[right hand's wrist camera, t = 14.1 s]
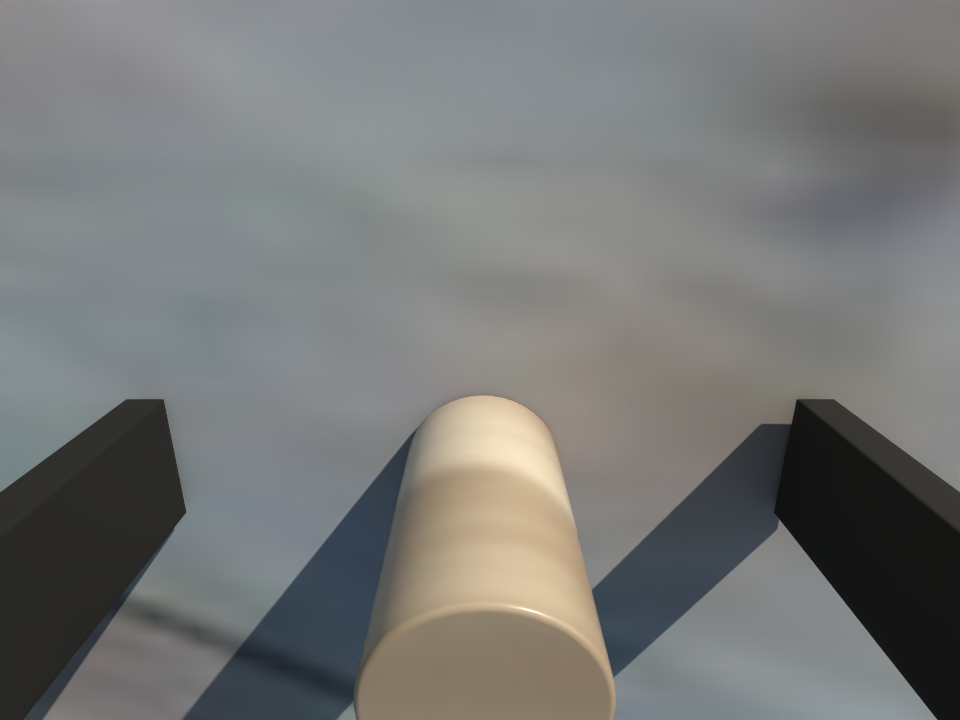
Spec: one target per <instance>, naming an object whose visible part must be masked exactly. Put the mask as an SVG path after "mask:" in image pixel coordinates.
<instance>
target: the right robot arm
mask: <svg viewBox="0 0 960 720" xmlns="http://www.w3.org/2000/svg"><path fill="white" fill-rule="evenodd" d="M185 513H186V509H185V504H184V499H183V494H182V489H181V484H180V479H179V474H178V469H177V464H176V459H175V454H174V449H173V444H172V439H171V434H170V430H169V425H168V420H167V415H166V410H165V405H164V400H163V399H126V400H125V401H124V402H122V403H121V404H120V405H118V406H117V407H116V408H114V409H113V410H111V411H110V412H109V413H107V414H106V415H105V416H103V417H102V418H101V419H99V420H98V421H97V422H95V423H94V424H93V425H91V426H90V427H88V428H87V429H86V430H84V431H83V432H82V433H80V434H79V435H78V436H76V437H75V438H74V439H72V440H71V441H69V442H68V443H67V444H65V445H64V446H63V447H61V448H60V449H59V450H57V451H56V452H55V453H53V454H52V455H50V456H49V457H48V458H46V459H45V460H44V461H42V462H41V463H40V464H38V465H37V466H36V467H34V468H33V469H31V470H30V471H29V472H27V473H26V474H25V475H23V476H22V477H21V478H19V479H18V480H17V481H15V482H14V483H12V484H11V485H10V486H8V487H7V488H6V489H4V490H3V491H2V492H0V720H23V719H24V718H25V716H26V715H27V714H28V712H29V711H30V710H31V709H32V707H33V706H34V705H35V704H36V702H37V701H38V700H39V698H40V697H41V696H42V695H43V693H44V692H45V691H46V690H47V688H48V687H49V686H50V684H51V683H52V682H53V681H54V679H55V678H56V677H57V676H58V674H59V673H60V672H61V671H62V669H63V668H64V667H65V665H66V664H67V663H68V662H69V660H70V659H71V658H72V657H73V655H74V654H75V653H76V651H77V650H78V649H79V648H80V646H81V645H82V644H83V643H84V641H85V640H86V639H87V638H88V636H89V635H90V634H91V632H92V631H93V630H94V629H95V627H96V626H97V625H98V624H99V622H100V621H101V620H102V618H103V617H104V616H105V615H106V613H107V612H108V611H109V610H110V608H111V607H112V606H113V605H114V603H115V602H116V601H117V599H118V598H119V597H120V596H121V594H122V593H123V592H124V591H125V589H126V588H127V587H128V585H129V584H130V583H131V582H132V580H133V579H134V578H135V577H136V575H137V574H138V573H139V572H140V570H141V569H142V568H143V566H144V565H145V564H146V563H147V561H148V560H149V559H150V558H151V556H152V555H153V554H154V552H155V551H156V550H157V549H158V547H159V546H160V545H161V544H162V542H163V541H164V540H165V539H166V537H167V536H168V535H169V533H170V532H171V531H172V530H173V528H174V527H175V526H176V525H177V523H178V522H179V521H180V519H181V518H182V517H183V516H184V514H185ZM774 513H775V514H776V515H777V517H778V518H779V519H780V520H781V522H782V523H783V524H784V526H785V527H786V528H787V529H788V531H789V532H790V533H791V534H792V536H793V537H794V538H795V539H796V541H797V542H798V543H799V545H800V546H801V547H802V548H803V550H804V551H805V552H806V553H807V555H808V556H809V557H810V559H811V560H812V561H813V562H814V564H815V565H816V566H817V567H818V569H819V570H820V571H821V573H822V574H823V575H824V576H825V578H826V579H827V580H828V581H829V583H830V584H831V585H832V586H833V588H834V589H835V590H836V592H837V593H838V594H839V595H840V597H841V598H842V599H843V600H844V602H845V603H846V604H847V606H848V607H849V608H850V609H851V611H852V612H853V613H854V614H855V616H856V617H857V618H858V619H859V621H860V622H861V623H862V625H863V626H864V627H865V628H866V630H867V631H868V632H869V633H870V635H871V636H872V637H873V639H874V640H875V641H876V642H877V644H878V645H879V646H880V647H881V649H882V650H883V651H884V652H885V654H886V655H887V656H888V658H889V659H890V660H891V661H892V663H893V664H894V665H895V666H896V668H897V669H898V670H899V672H900V673H901V674H902V675H903V677H904V678H905V679H906V680H907V682H908V683H909V684H910V685H911V687H912V688H913V689H914V691H915V692H916V693H917V694H918V696H919V697H920V698H921V699H922V701H923V702H924V703H925V705H926V706H927V707H928V708H929V710H930V711H931V712H932V713H933V715H934V716H935V717H936V718H937V720H960V492H959V491H957V490H956V489H955V488H953V487H952V486H951V485H949V484H948V483H946V482H945V481H944V480H942V479H941V478H940V477H938V476H937V475H936V474H934V473H933V472H932V471H930V470H929V469H927V468H926V467H925V466H923V465H922V464H921V463H919V462H918V461H917V460H915V459H914V458H913V457H911V456H910V455H908V454H907V453H906V452H904V451H903V450H902V449H900V448H899V447H898V446H896V445H895V444H894V443H892V442H891V441H889V440H888V439H887V438H885V437H884V436H883V435H881V434H880V433H879V432H877V431H876V430H875V429H873V428H872V427H870V426H869V425H868V424H866V423H865V422H864V421H862V420H861V419H860V418H858V417H857V416H856V415H854V414H853V413H851V412H850V411H849V410H847V409H846V408H845V407H843V406H842V405H841V404H839V403H838V402H837V401H835V400H834V399H797V401H796V406H795V411H794V416H793V421H792V426H791V431H790V436H789V441H788V446H787V451H786V455H785V460H784V465H783V470H782V475H781V480H780V485H779V490H778V495H777V500H776V505H775V510H774Z"/></svg>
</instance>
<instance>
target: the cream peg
mask: <svg viewBox="0 0 960 720" xmlns="http://www.w3.org/2000/svg"><path fill="white" fill-rule="evenodd" d="M615 706H616V690H615V684H614V679H613V675H612V671H611V667H610V663H609V659H608V654H607V650H606V646H605V642H604V638H603V634H602V630H601V626H600V622H599V618H598V614H597V610H596V606H595V602H594V598H593V594H592V590H591V586H590V582H589V578H588V574H587V570H586V566H585V562H584V558H583V554H582V550H581V546H580V542H579V538H578V534H577V530H576V526H575V522H574V518H573V514H572V510H571V506H570V502H569V498H568V494H567V490H566V486H565V482H564V478H563V474H562V470H561V466H560V462H559V458H558V454H557V450H556V446H555V443H554V440H553V438H552V436H551V434H550V432H549V430H548V429H547V427H546V426H545V424H544V423H543V422H542V421H541V420H540V419H539V418H538V416H536V415H535V414H534V413H533V412H531V411H530V410H529V409H527V408H526V407H524V406H522V405H520V404H518V403H516V402H514V401H511V400H508V399H505V398H500V397H495V396H471V397H465V398H461V399H458V400H455V401H452V402H450V403H448V404H445V405H443V406H442V407H440V408H439V409H437V410H435V411H434V412H433V413H432V414H431V415H429V416H428V417H427V418H426V419H425V420H424V421H423V423H422V424H421V425H420V427H419V428H418V429H417V431H416V433H415V435H414V437H413V439H412V442H411V445H410V448H409V452H408V457H407V461H406V465H405V469H404V474H403V478H402V482H401V487H400V491H399V495H398V500H397V504H396V508H395V513H394V517H393V521H392V525H391V530H390V534H389V538H388V543H387V547H386V551H385V556H384V560H383V564H382V569H381V573H380V577H379V581H378V586H377V590H376V594H375V599H374V603H373V607H372V612H371V616H370V620H369V625H368V629H367V633H366V637H365V642H364V646H363V650H362V655H361V659H360V663H359V668H358V672H357V676H356V681H355V687H354V709H355V715H356V720H613V716H614V711H615Z"/></svg>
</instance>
